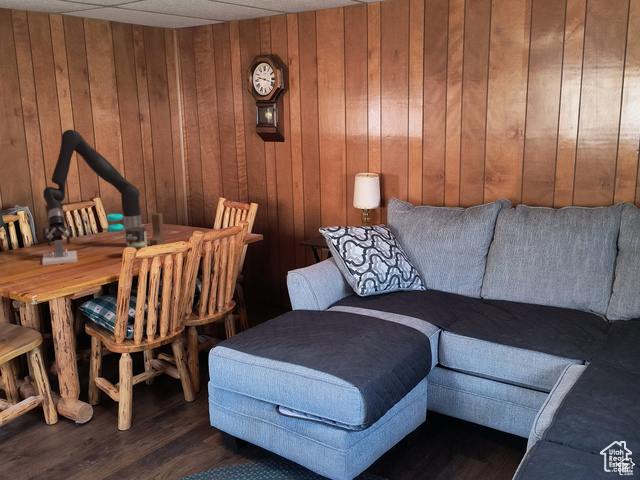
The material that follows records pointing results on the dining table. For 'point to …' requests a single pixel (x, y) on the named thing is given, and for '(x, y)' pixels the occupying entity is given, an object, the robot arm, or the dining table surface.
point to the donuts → (115, 218)
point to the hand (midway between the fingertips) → (58, 244)
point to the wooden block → (157, 229)
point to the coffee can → (136, 237)
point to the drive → (59, 248)
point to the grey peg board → (51, 257)
